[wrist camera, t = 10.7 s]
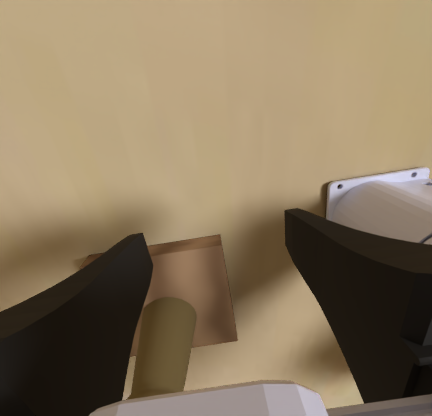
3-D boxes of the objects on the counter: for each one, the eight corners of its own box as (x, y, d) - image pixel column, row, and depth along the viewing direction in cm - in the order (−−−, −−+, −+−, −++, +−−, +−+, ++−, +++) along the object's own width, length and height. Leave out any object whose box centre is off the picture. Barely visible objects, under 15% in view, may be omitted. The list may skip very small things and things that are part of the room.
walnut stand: (220, 234, 23) (221, 245, 21) (235, 326, 29) (237, 340, 27) (89, 255, 23) (79, 267, 21) (130, 341, 29) (125, 357, 27)
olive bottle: (171, 342, 26) (150, 484, 16) (131, 317, 24) (80, 461, 14) (208, 316, 25) (210, 455, 15) (168, 288, 23) (140, 425, 13)
